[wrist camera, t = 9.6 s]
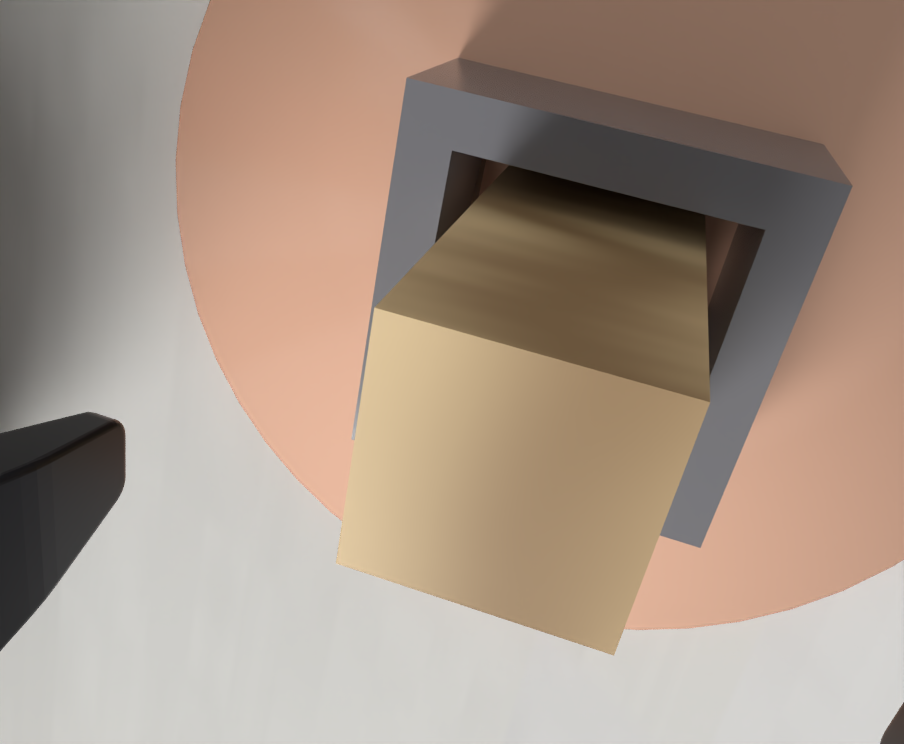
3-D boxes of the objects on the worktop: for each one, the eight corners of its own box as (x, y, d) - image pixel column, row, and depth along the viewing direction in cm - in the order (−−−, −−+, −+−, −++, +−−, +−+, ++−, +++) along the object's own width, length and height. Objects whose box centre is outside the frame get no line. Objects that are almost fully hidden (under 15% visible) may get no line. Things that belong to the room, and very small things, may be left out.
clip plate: (184, 477, 25) (91, 571, 22) (218, -366, 16) (64, -471, 12) (857, 698, 23) (890, 852, 19) (1379, -169, 13) (1667, -226, 9)
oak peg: (480, 324, 20) (335, 563, 12) (516, 156, 18) (374, 307, 10) (648, 372, 19) (614, 655, 11) (704, 203, 17) (710, 402, 9)
